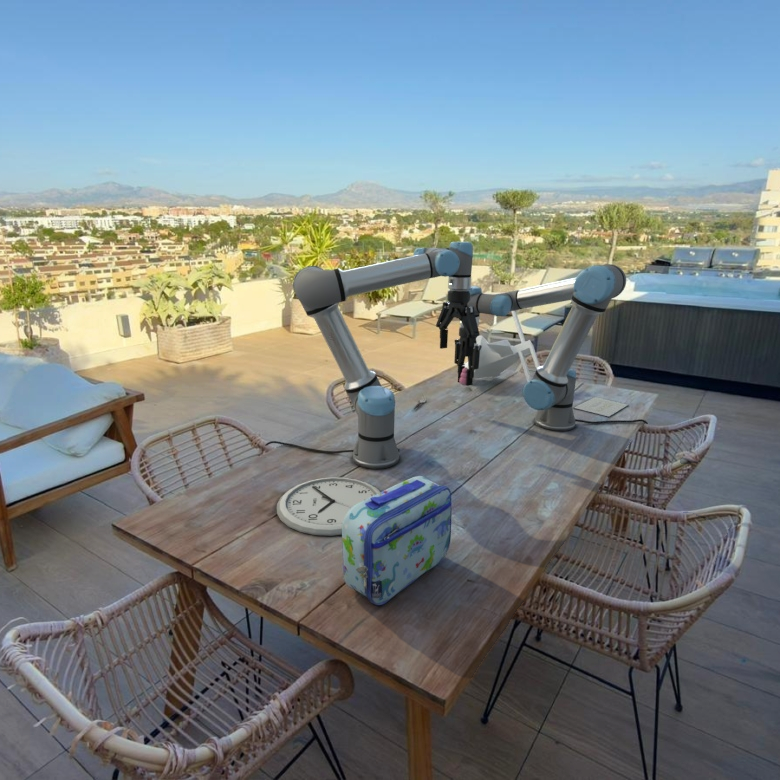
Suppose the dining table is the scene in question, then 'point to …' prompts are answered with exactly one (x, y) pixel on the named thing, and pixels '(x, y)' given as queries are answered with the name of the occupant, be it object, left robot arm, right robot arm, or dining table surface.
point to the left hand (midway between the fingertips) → (455, 352)
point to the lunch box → (395, 537)
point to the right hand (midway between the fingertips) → (464, 383)
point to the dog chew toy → (463, 376)
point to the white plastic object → (503, 355)
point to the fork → (421, 401)
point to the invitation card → (601, 406)
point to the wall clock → (322, 504)
